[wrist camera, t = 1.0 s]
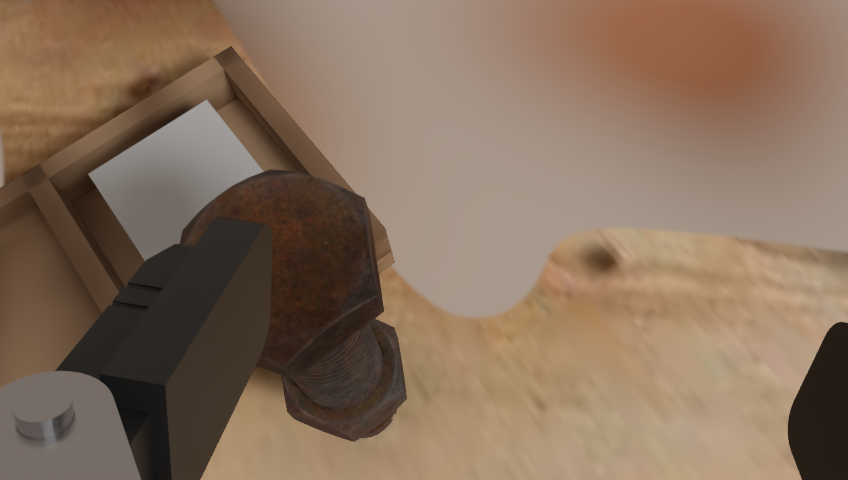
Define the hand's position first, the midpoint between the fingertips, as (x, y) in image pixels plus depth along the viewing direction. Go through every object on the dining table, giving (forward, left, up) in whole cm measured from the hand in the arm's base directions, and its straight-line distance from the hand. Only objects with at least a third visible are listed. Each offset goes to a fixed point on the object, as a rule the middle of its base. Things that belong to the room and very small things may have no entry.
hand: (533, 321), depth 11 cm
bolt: (+2, -7, -22) cm, 24 cm away
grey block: (+3, -18, -21) cm, 28 cm away
